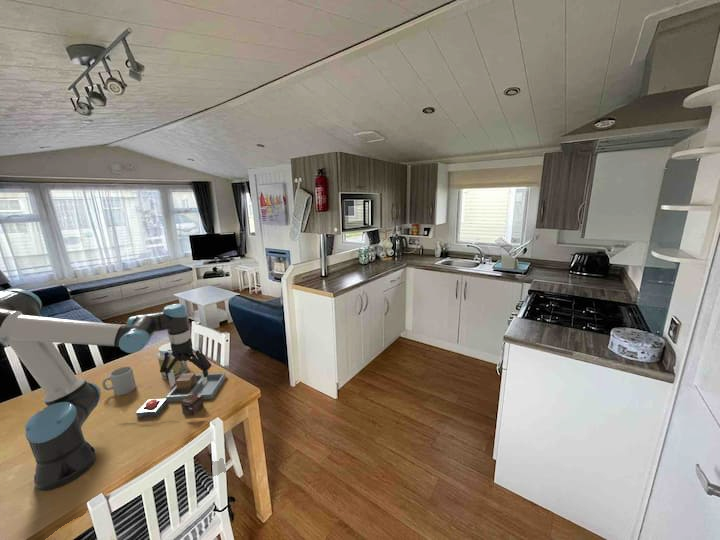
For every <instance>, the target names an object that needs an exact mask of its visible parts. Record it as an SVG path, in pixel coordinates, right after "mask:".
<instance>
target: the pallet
mask: <svg viewBox="0 0 720 540" xmlns="http://www.w3.org/2000/svg"><path fill="white" fill-rule="evenodd" d="M195 375H196V381H197V384H196V385H195V386H194V388H193V389H192V390H191V391H190V393H179V394H178V389H177V384H176V385H174V386H173V388H172V389H171V391H170V392H169V393H168V394H167V395H166V396H165V399H167V403H168V402H181V401H182V400H183V399H184V398H186V397H187V396H188V395H190V394H191V393H194V394H199V395H202V398H203V401H205V400H213V399H214V398H215V396H216V394H217V393H218V391H219V390H220V388H221V386H222V385H223V383H224V382H225V380H226V379H227V373H226V372H219V373H217V372H216V373H208V376H207V382H206V384H205V385H203V383H202V377H201V373H199V374H196V373H195Z"/></svg>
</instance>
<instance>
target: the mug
mask: <svg viewBox="0 0 720 540" xmlns="http://www.w3.org/2000/svg"><path fill="white" fill-rule="evenodd" d="M134 375H135V374H134V372H133V367H132V366H122V367H119V368H116V369H114V370H112V371H111V372H110V374H109V376H107V377H105V378H103V380H102V383H101V384H102V388H103V389H104V391H105V390H106V391H110V390H111V391H112V390H113V393H114V395H115V396H117V397H119V396H125V395H127V394H130V393H132V392H134V391H135V390H136V389H137V384H136V380H135V376H134ZM107 381H111V386H107V385H106V382H107Z"/></svg>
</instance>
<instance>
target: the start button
mask: <svg viewBox="0 0 720 540" xmlns="http://www.w3.org/2000/svg"><path fill="white" fill-rule="evenodd" d="M149 400H150V401H148V400H147V401H148V402H147V401H146V402H147V403H146V402H145V403H146V408H147V409H155V407H156V406H157V405H158V404H157V400H155V398H154V400H151V399H149Z"/></svg>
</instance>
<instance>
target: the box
mask: <svg viewBox="0 0 720 540" xmlns="http://www.w3.org/2000/svg"><path fill="white" fill-rule="evenodd" d="M180 404H181V405H180V406H181V409H182V411H181V412H182V414H184V415H189V416H193V417H194V416H195V415H196V414H197V413H198V412H200V410H202V409H203V408H204V407H205V406H204V400H203V398H202V395H199V394H194V393H191V394H190V395H188V396H187V397H186V398H184V399H183V400H182V401H180Z"/></svg>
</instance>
